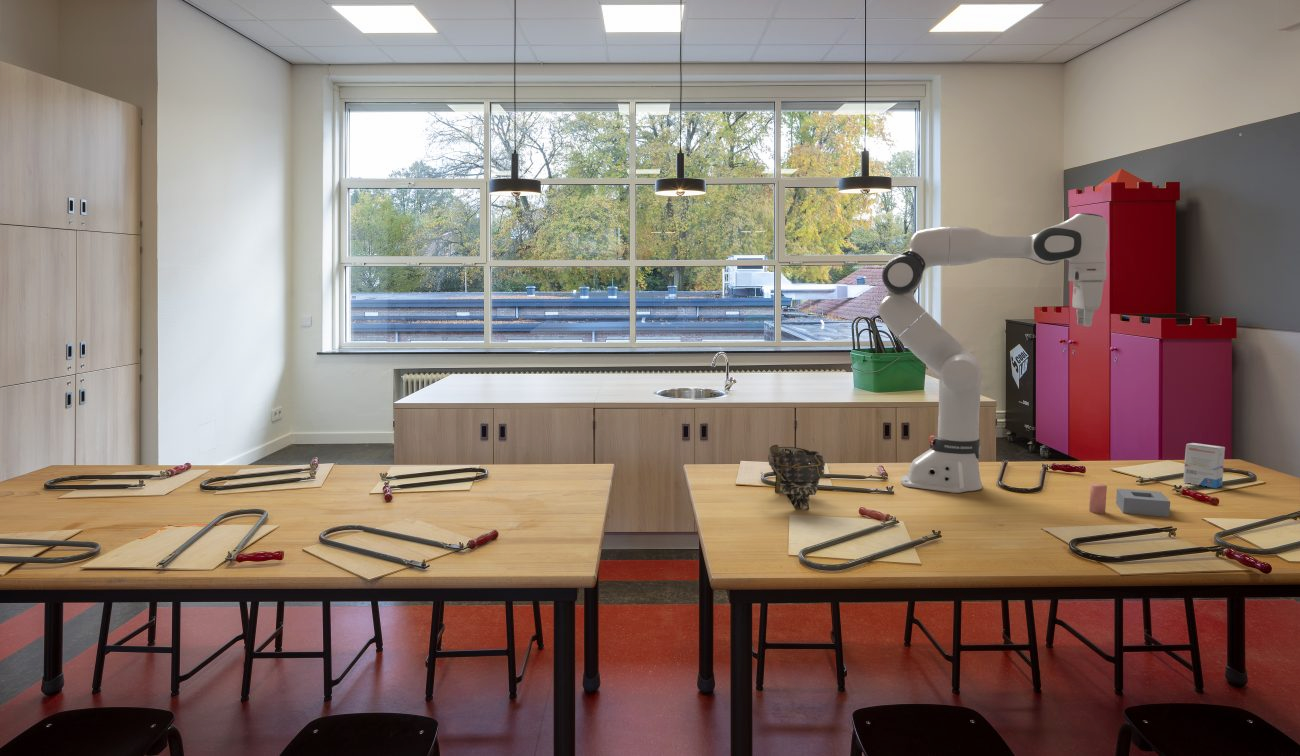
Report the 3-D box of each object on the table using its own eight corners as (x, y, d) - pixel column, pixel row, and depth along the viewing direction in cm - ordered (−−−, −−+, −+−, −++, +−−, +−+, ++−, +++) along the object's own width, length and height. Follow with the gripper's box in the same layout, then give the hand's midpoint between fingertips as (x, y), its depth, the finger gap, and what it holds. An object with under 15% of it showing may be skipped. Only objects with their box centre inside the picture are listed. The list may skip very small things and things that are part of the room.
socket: (1123, 513, 197) (1124, 497, 196) (1116, 502, 206) (1116, 488, 205) (1169, 516, 193) (1170, 501, 193) (1159, 506, 202) (1160, 491, 202)
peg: (1090, 513, 197) (1091, 486, 196) (1088, 509, 200) (1089, 483, 200) (1106, 514, 196) (1108, 487, 195) (1103, 510, 199) (1105, 484, 198)
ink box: (1223, 486, 222) (1226, 446, 221) (1216, 488, 219) (1219, 448, 218) (1189, 480, 229) (1192, 441, 228) (1182, 482, 226) (1185, 443, 225)
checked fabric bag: (760, 493, 223) (762, 442, 222) (812, 494, 223) (814, 443, 222) (775, 510, 200) (777, 453, 200) (833, 511, 201) (835, 454, 200)
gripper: (1067, 275, 217) (1065, 324, 219) (1080, 274, 198) (1077, 327, 200) (1093, 274, 215) (1090, 324, 217) (1108, 273, 196) (1105, 327, 198)
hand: (1084, 325), depth 208 cm, fingers open, 8 cm apart
